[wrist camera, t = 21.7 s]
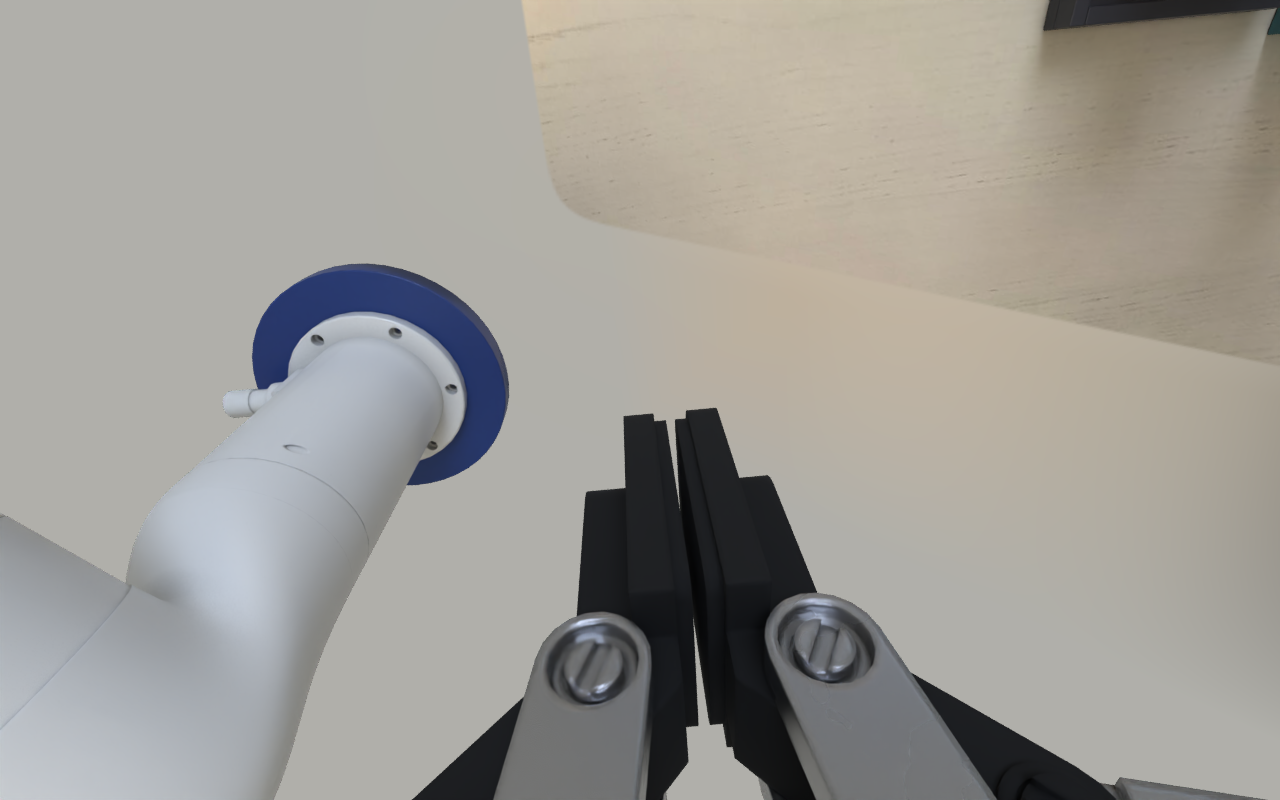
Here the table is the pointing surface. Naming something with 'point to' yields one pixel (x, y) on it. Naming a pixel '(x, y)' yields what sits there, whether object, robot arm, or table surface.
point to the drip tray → (1141, 10)
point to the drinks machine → (1275, 24)
